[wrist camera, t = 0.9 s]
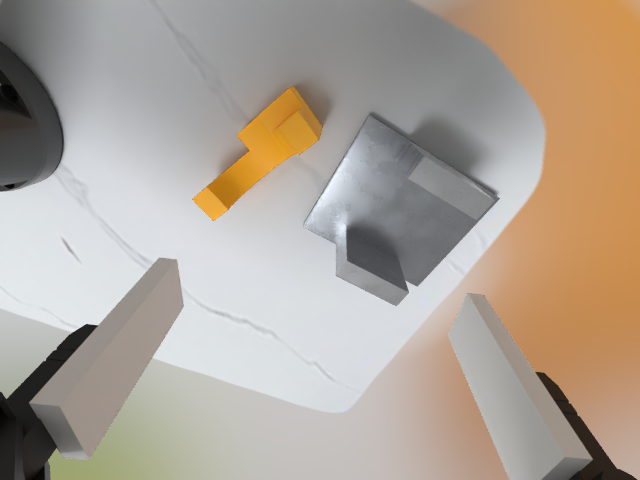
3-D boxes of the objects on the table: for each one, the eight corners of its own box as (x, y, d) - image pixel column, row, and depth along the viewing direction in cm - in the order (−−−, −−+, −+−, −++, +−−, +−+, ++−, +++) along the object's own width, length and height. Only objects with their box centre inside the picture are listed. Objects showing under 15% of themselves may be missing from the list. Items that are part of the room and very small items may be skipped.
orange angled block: (294, 86, 27) (282, 89, 22) (323, 126, 29) (318, 139, 23) (205, 163, 31) (176, 183, 26) (235, 195, 33) (213, 221, 27)
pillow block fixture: (303, 222, 34) (296, 256, 28) (369, 114, 28) (377, 126, 22) (415, 281, 37) (430, 323, 31) (495, 195, 31) (533, 225, 25)
